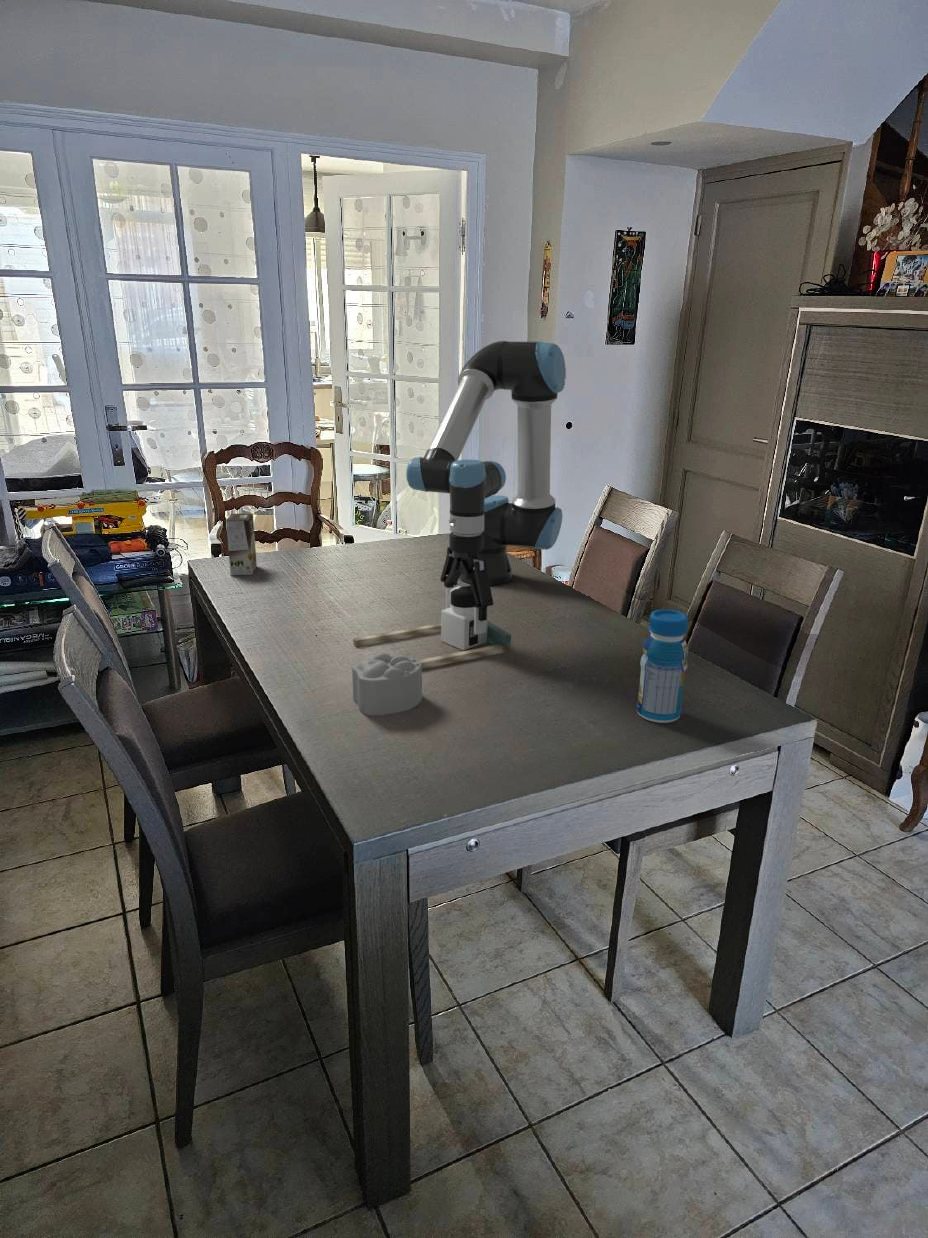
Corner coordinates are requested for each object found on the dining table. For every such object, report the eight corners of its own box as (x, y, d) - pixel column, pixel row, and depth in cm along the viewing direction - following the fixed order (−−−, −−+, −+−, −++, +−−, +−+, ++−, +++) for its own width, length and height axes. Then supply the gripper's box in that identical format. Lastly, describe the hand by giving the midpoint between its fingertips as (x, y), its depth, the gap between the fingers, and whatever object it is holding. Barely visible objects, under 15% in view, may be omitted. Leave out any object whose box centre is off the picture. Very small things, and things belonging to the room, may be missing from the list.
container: (487, 642, 183) (489, 588, 178) (463, 651, 178) (464, 596, 173) (464, 633, 188) (465, 580, 183) (440, 641, 183) (440, 587, 178)
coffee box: (253, 575, 227) (248, 520, 222) (230, 575, 226) (225, 520, 221) (257, 566, 236) (253, 512, 230) (235, 566, 235) (230, 512, 229)
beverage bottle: (653, 728, 146) (664, 626, 138) (626, 708, 153) (636, 610, 146) (690, 720, 149) (703, 619, 142) (662, 701, 156) (673, 604, 149)
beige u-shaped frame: (469, 623, 194) (469, 608, 192) (510, 651, 178) (511, 634, 177) (353, 644, 180) (352, 628, 179) (386, 676, 165) (386, 658, 163)
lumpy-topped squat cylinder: (349, 695, 156) (348, 654, 153) (412, 685, 161) (412, 645, 158) (364, 718, 147) (362, 676, 144) (430, 707, 152) (430, 665, 149)
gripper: (426, 521, 183) (426, 608, 190) (480, 548, 162) (477, 644, 170) (455, 518, 186) (454, 603, 193) (511, 544, 165) (507, 638, 173)
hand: (465, 623), depth 182 cm, fingers open, 13 cm apart
